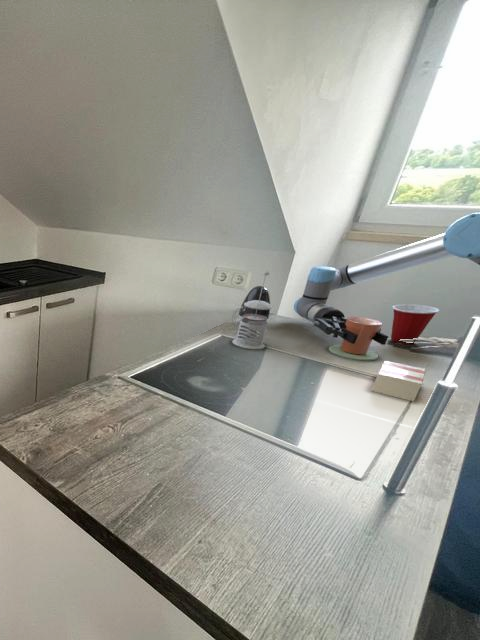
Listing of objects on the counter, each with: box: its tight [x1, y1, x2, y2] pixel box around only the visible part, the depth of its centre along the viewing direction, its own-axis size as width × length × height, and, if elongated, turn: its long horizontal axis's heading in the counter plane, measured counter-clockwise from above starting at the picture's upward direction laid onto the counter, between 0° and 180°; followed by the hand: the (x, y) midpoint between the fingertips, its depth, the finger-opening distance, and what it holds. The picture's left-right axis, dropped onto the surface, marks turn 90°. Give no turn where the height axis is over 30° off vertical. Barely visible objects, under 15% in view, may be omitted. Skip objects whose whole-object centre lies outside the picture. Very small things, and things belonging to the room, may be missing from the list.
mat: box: [328, 344, 379, 361], centre depth 125 cm, size 12×12×1 cm
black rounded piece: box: [238, 285, 271, 325], centre depth 149 cm, size 10×10×15 cm
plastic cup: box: [390, 304, 440, 345], centre depth 130 cm, size 11×11×12 cm
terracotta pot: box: [340, 316, 383, 354], centre depth 122 cm, size 8×8×10 cm
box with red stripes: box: [370, 360, 426, 402], centre depth 102 cm, size 12×8×5 cm
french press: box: [231, 270, 273, 350], centre depth 130 cm, size 10×12×25 cm
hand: (369, 340), depth 118 cm, fingers closed on terracotta pot, 7 cm apart
